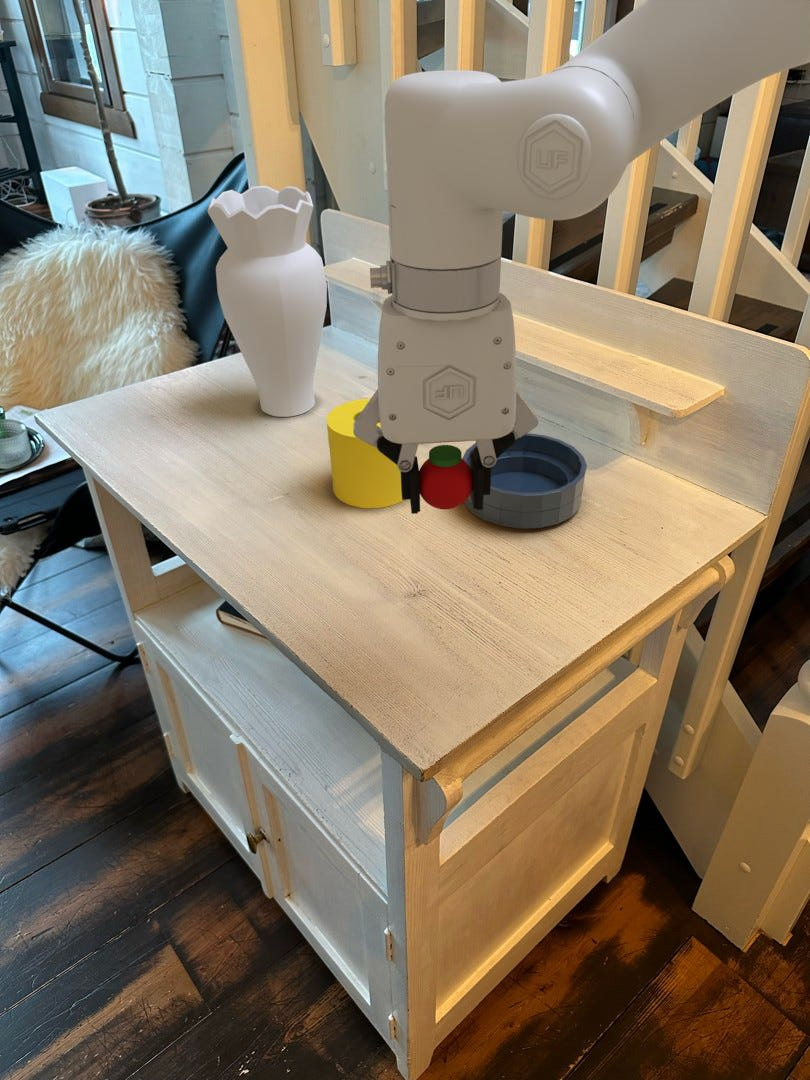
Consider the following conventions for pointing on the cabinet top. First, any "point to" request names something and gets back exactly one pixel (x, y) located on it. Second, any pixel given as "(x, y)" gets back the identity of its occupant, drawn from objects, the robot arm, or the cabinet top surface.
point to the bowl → (533, 483)
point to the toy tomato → (445, 478)
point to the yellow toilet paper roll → (359, 463)
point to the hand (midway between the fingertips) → (445, 500)
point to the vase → (272, 291)
